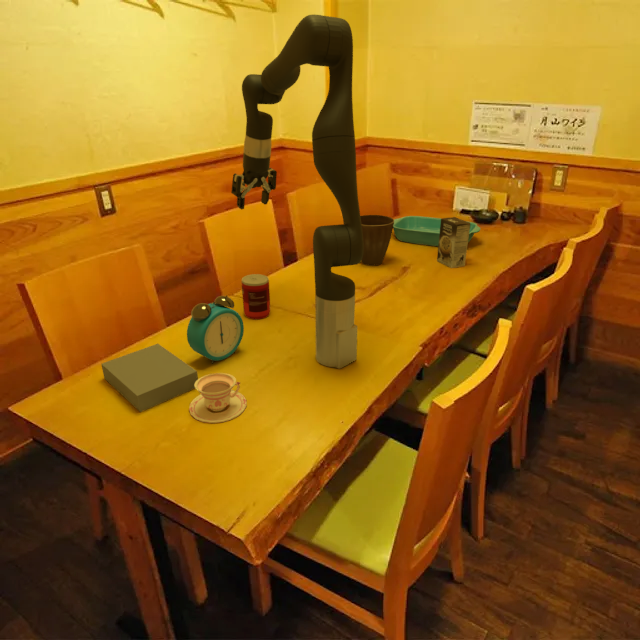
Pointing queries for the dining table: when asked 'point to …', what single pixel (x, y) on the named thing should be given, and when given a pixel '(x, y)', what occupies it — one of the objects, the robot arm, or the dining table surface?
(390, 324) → the dining table surface
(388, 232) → the plant pot
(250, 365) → the dining table surface
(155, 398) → the plinth
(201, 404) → the teacup
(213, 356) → the alarm clock
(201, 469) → the dining table surface
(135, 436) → the dining table surface
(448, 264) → the coffee box
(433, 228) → the casserole dish
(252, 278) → the canned food
